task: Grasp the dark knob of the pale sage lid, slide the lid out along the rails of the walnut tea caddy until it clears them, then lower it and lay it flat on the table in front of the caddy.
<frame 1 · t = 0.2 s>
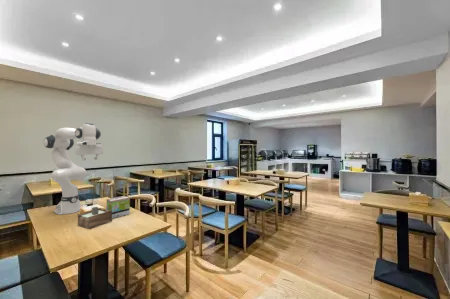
hand: (90, 159, 163), 47 cm above the table, fingers open, 8 cm apart
tea box: (118, 215, 169), on the table
caddy: (95, 223, 152), on the table
lid: (95, 215, 152), point 6 cm above the table, touching caddy
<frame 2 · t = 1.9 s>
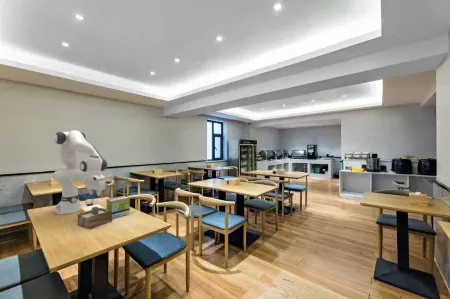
hand: (95, 195, 152), 22 cm above the table, fingers open, 8 cm apart
nothing on the table moved.
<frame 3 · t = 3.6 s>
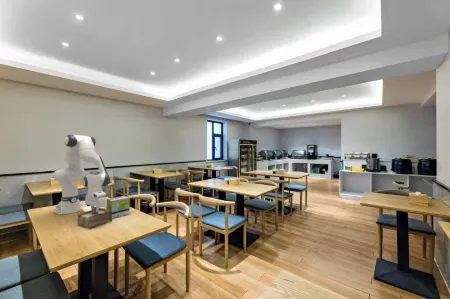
hand: (95, 211, 152), 9 cm above the table, fingers closed on lid, 3 cm apart
lid: (95, 215, 152), point 6 cm above the table, touching caddy, gripper
everything else where it was.
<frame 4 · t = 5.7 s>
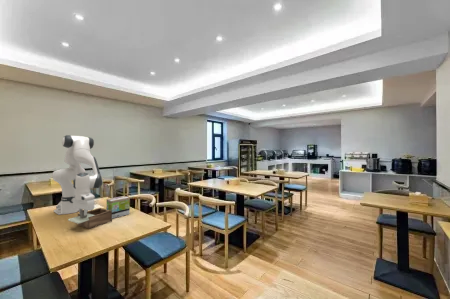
hand: (83, 214, 144), 9 cm above the table, fingers closed on lid, 3 cm apart
lid: (83, 218, 145), point 6 cm above the table, touching gripper
everything else where it was.
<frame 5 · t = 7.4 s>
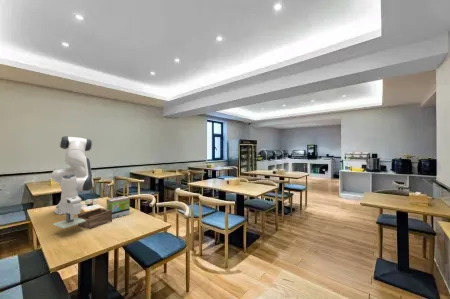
hand: (69, 218, 137), 9 cm above the table, fingers closed on lid, 3 cm apart
lid: (69, 223, 137), point 6 cm above the table, touching gripper
everything else where it was.
when the fingers open (5 cm above the table, at t = 8.7 s): lid drops 2 cm, on the table.
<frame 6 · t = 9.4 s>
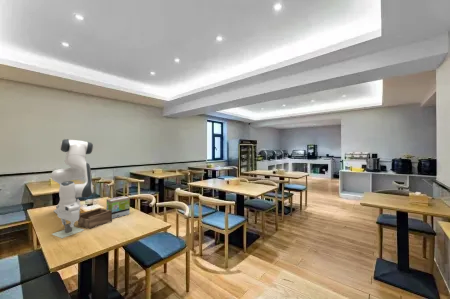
hand: (68, 225, 136), 5 cm above the table, fingers open, 8 cm apart
lid: (68, 233, 136), on the table
everything else where it was.
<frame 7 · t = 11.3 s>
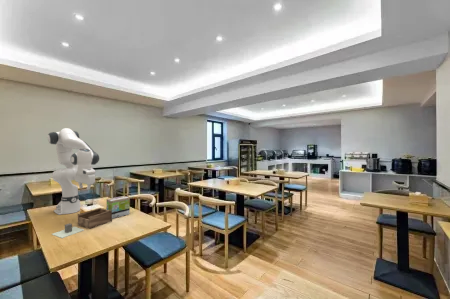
hand: (84, 188, 150), 27 cm above the table, fingers open, 8 cm apart
nothing on the table moved.
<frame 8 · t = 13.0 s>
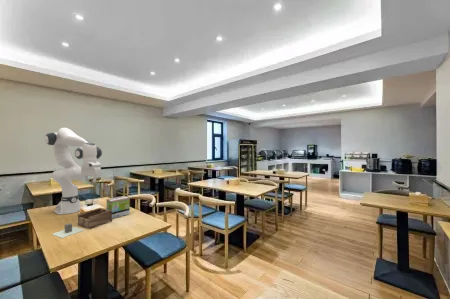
hand: (90, 181, 155), 31 cm above the table, fingers open, 8 cm apart
nothing on the table moved.
at the end: lid inside the target area (0.1 cm from its centre), on the table; lid tilted 0°; the gripper is holding nothing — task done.
